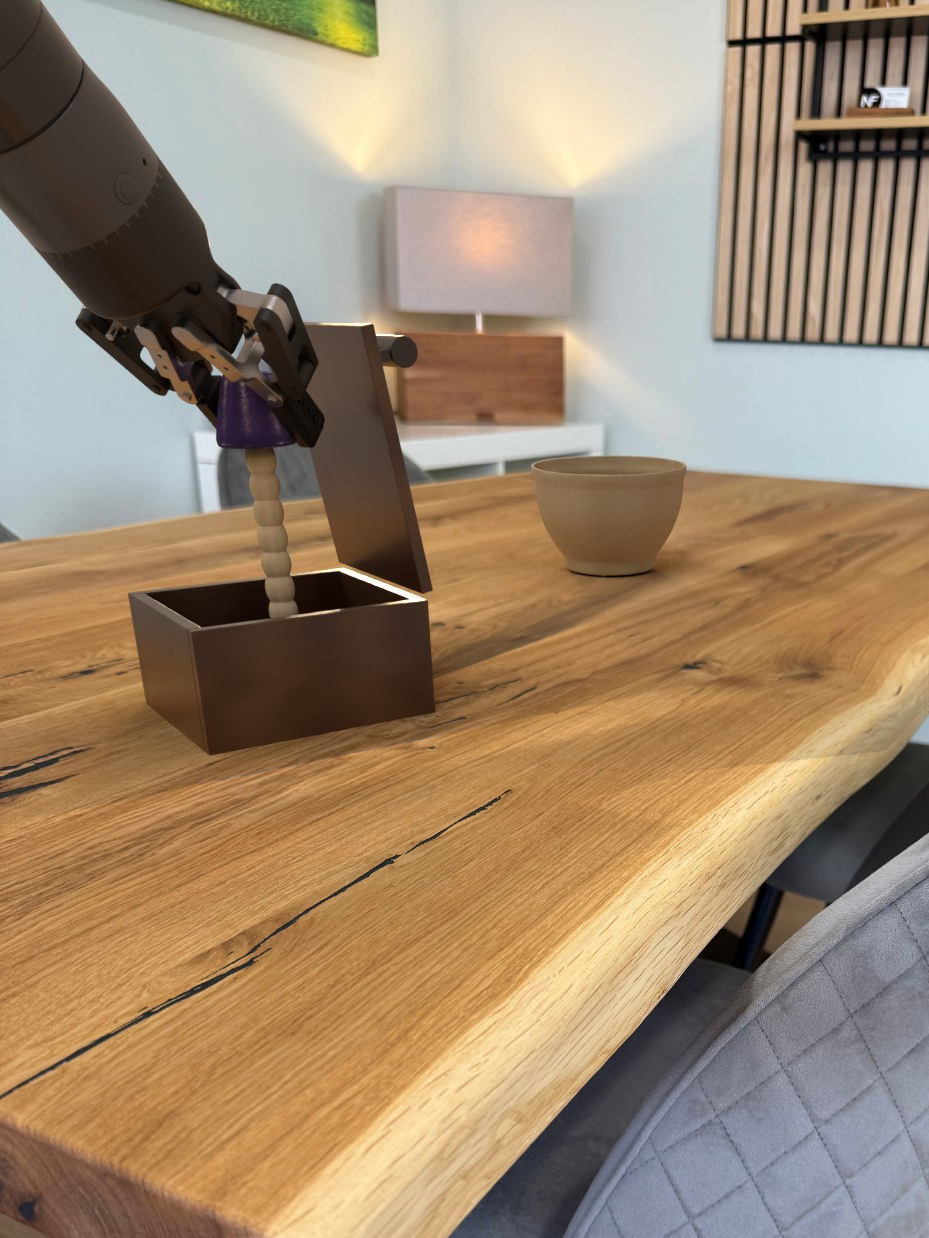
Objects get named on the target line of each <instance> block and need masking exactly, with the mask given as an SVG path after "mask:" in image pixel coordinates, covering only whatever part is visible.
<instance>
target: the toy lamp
mask: <svg viewBox="0 0 929 1238" xmlns="http://www.w3.org/2000/svg"><path fill="white" fill-rule="evenodd" d="M260 372H261V373H262V374H263V375H265V376H266V377H267V378H268V379H270V377H271V375H272V373H273V372H271V371H269V370H260ZM221 376H222V377H221V383H220V392H219V403H218V415H217V427H216V429H215V441H216V444H217V446H218V447H219V448H221V449H229V450H245V451H244V459H245V464H246V467H247V470H248V471H249V473H250V475H249V479H248V486H249V492H250V494H251V496H252V497H253V499H254V502H253V505H252V510H253V517H254V519H255V521H256V523H257V525H258V527H257V530H256V538H257V544H258V545H259V548H260V549H261V551H262V552H261V556H260V564H261V565H260V566H261V569H262V571H263V573H264V574H265V577H266V581H265V589H266V593H267V596H268V598H269V599H270V601H271V602H270V605H269V615H270V618H277V617H284V616H292V615H298V607H297V605H296V603H295V601H294V596H295V586H294V582H293V579H292V577H291V576H290V574H291V572H292V560H291V559H292V558H291V555H290V553H289V552H288V550H287V549H288V545H289V537H288V532H287V529H286V527H285V526H284V519H285V509H284V506H283V503H282V501H281V500H280V495H281V482H280V479H279V476H278V475H277V473H276V469H277V466H278V460H277V454H276V451H275V448H276V449H277V448H282V447H287V446H292V445H295V444H297V443H296V441H295V440H294V439H293V437H292V436H291V435H290V433H289V432H288V431H287V430H286V428H285V427H284V426H283V424H282V423H281V422H280V421H279V419H278V418H277V417H276V415H275V414H274V413H273V411H272V410H271V409H270V408H269V406H270V404H268V403H267V402H266V401H265V400H264V399H262V398H261V397H260V396H259V395H258V394H257V393H256V392H255V391H253V390H252V389H251V388H250V387H249V386H248V385H247V384H245V383H244V382H241V383H237V384H236V383H233V382H232V381H230V380H229V379H228V378H227V377H226V376H225V375H224V374H223V373H222V375H221Z"/></svg>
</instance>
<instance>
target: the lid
mask: <svg viewBox="0 0 929 1238" xmlns="http://www.w3.org/2000/svg"><path fill="white" fill-rule="evenodd" d="M303 323H304V325H305V328H306V330H307V333H308V336H309V338H310V341H311V343H312V346H313V348H314V351H315V354H316V356H317V359H318V361H319V363H318V366H317V368H316V370H315V372H314V374H313V376H312V379H311V381H310V383H309V385H308V387H307V389H306V391H307V392H308V394H309V395H310V397H311V398H312V399H313V401H314V403H316V405H317V406H318V408H319V409H320V410H321V412H322V413H323V415H324V418H325V422H324V427H323V430H322V432H321V434H320V436H319V438H318V441H317V443H316V445H315V446H314V447H313V448H308V449H309V452H310V457H311V460H312V464H313V468H314V472H315V476H316V479H317V483H318V487H319V491H320V494H321V495H320V496H321V499H322V503H323V506H324V510H325V514H326V518H327V522H328V525H329V529H330V533H331V537H332V541H333V545H334V548H335V553H336V556H337V560H338V563H339V564H342V565H345V566H347V567H350V568H352V569H355V570H358V571H361V572H363V573H366V574H367V575H368V574H369V575H372V576H374V577H376V578H379V579H381V580H384V581H387V582H390V583H392V584H395V585H398V586H400V587H403V588H405V589H408V590H411V591H413V592H416V593H419V594H421V595H424V594H428V593H430V592H433V591H434V587H433V585H432V580H431V576H430V575H431V574H430V571H429V566H428V561H427V558H426V552H425V549H424V544H423V538H422V534H421V530H420V525H419V521H418V517H417V512H416V508H415V507H416V506H415V503H414V499H413V494H412V490H411V485H410V482H409V477H408V473H407V467H406V463H405V459H404V455H403V450H402V445H401V440H400V437H399V432H398V428H397V427H398V426H397V423H396V419H395V418H396V417H395V414H394V410H393V405H392V401H391V396H390V392H389V386H388V383H387V379H386V374H385V370H384V369H385V368H386V367H387V368H400V369H409V368H411V367H412V366H414V364H415V363H416V362H417V360H418V356H419V350H418V347H417V344H416V342H415V341H414V339H412V338H411V337H410V336H407V335H395V334H377V333H376V329H375V325H374V323H364V322H363V323H362V322H361V323H360V322H326V321H325V322H321V321H320V322H318V321H303ZM384 367H385V368H384Z"/></svg>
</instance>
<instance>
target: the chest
mask: <svg viewBox="0 0 929 1238" xmlns="http://www.w3.org/2000/svg"><path fill="white" fill-rule="evenodd" d="M290 576H291V577H292V579H293V582H294V586H295V596H294V601H295V603H296V605H297V607H298V615H292V616H284V617H277V618H270V615H269V605H270V602H271V601H270V599H269V598H268V596H267V593H266V589H265V581H266V577H267V576H261V577H252V578H244V579H243V578H242V579H236V580H227V581H218V582H210V583H209V582H208V583H201V584H191V585H184V586H183V585H182V586H174V587H165V588H158V589H150V590H149V589H147V590H139V591H130V592H128V593H127V597H128V603H129V609H130V610H129V611H130V614H131V621H132V626H133V632H134V639H135V645H136V646H135V647H136V651H137V657H138V663H139V669H140V675H141V676H140V677H141V681H142V688H143V693H144V699H145V704H146V705H147V706H148V707H149V708H151V709H152V710H153V711H154V712H156V713H157V714H158V715H160V716H161V718H163V719H164V720H165V721H167V722H168V723H169V724H170V725H171V726H173V727H174V728H175V729H176V730H177V731H178V732H180V733H181V734H182V735H184V736H185V737H186V738H187V739H188V740H190V741H191V742H192V743H193V744H194V745H196V746H197V747H198V748H199V749H201V751H203V752H204V753H206V755H208V756H216V755H222V754H227V753H230V752H231V753H232V752H236V751H243V750H247V749H252V748H258V747H263V746H269V745H273V744H278V743H283V742H288V741H293V740H300V739H304V738H309V737H315V736H319V735H325V734H329V733H330V734H331V733H335V732H340V731H345V730H351V729H355V728H361V727H366V726H372V725H377V724H383V723H387V722H392V721H397V720H403V719H408V718H413V717H418V716H423V715H428V714H435V713H436V703H435V687H434V674H433V673H434V672H433V657H432V655H433V654H432V641H431V640H432V639H431V625H430V611H429V601H428V599H425V598H423V597H421V596H418V595H416V594H413V593H411V592H408V591H405V590H403V589H400V588H397V587H396V586H395V587H394V586H392V585H390V584H387V583H384V582H382V581H379V580H377V579H374V578H372V577H368V576H366V575H364V574H361V573H359V572H356V571H353V570H350V569H348V568H345V567H340V568H333V569H323V570H322V569H321V570H315V571H314V570H313V571H305V572H296V573H290Z"/></svg>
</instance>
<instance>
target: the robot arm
mask: <svg viewBox="0 0 929 1238" xmlns="http://www.w3.org/2000/svg"><path fill="white" fill-rule="evenodd" d="M61 28H62V27H60V26H59V24H58V22H57V21H56V20H55V18H54V17H53V16H52V14H51V13H50V11H49V10H48V9H47V7H46V5H45V4H44V2H42V0H0V210H1V211H2V213H3V214H4V215H5V216H6V217H7V219H9V220H8V221H10V222H11V223H12V225H13V226H14V227H15V228H16V229H17V230H18V231H19V232H20V234H21V235H22V236H23V237H24V238H25V239H26V240H27V241H28V243H29V244H30V245H31V246H32V247H33V249H34V250H35V251H36V252H37V253H38V255H40V257H41V258H42V259H43V260H44V261H45V263H46V264H47V265H48V266H49V267H50V268H51V269H52V271H53V272H54V273H55V274H56V275H57V276H58V277H59V278H60V280H61V281H62V282H63V284H64V285H66V286H67V288H69V290H70V291H71V293H72V294H74V296H75V297H76V298H77V299H78V301H80V303H81V304H82V307H81V309H80V312H79V314H78V316H77V317H76V319H75V325H76V327H77V328H78V329H79V330H80V331H81V332H82V333H83V334H84V335H86V336H87V337H88V338H89V339H90V340H91V341H93V342H94V343H95V344H96V345H97V346H99V347H100V348H101V349H102V350H103V351H104V352H106V353H107V354H108V355H109V356H110V357H111V358H112V359H114V360H115V361H116V362H117V363H118V364H119V365H120V366H122V367H123V368H124V369H125V370H126V371H128V372H129V373H130V374H131V375H132V376H133V377H134V378H135V379H137V380H138V381H139V382H140V383H141V384H143V386H145V387H146V388H147V389H148V390H150V391H151V392H152V393H154V394H155V395H157V396H161V397H166V396H167V395H168V393H169V391H171V392H175V393H176V395H177V396H178V398H179V399H180V400H182V401H183V402H185V403H187V404H190V405H194V406H196V407H197V408H198V410H199V411H200V412H201V413H202V415H203V416H204V417H205V418H206V419H207V421H208V422H210V423H211V425H212V426H213V428H214V429H215V430H216V427H217V415H218V403H219V392H220V383H221V377H222V375H223V374H224V375H225V376H226V377H227V378H228V379H229V380H230V381H232V382H233V383H236V384H237V383H241V382H244V383H245V384H247V385H248V386H249V387H250V388H251V389H252V390H253V391H255V392H256V393H257V394H258V395H259V396H260V397H261V398H262V399H264V400H265V401H266V402H267V403H268V404H270V406H269V408H270V409H271V410H272V411H273V413H274V414H275V415H276V417H277V418H278V419H279V421H280V422H281V423H282V424H283V426H284V427H285V428H286V430H287V431H288V432H289V433H290V435H291V436H292V437H293V439H294V440H295V441H296V443H295V444H296V445H298V446H299V448H303V449H304V448H305V449H309V448H313V447H314V446H315V445H316V443H317V441H318V438H319V436H320V434H321V432H322V430H323V427H324V422H325V418H324V415H323V413H322V412H321V410H320V409H319V408H318V406H317V405H316V403H314V401H313V399H312V398H311V397H310V395H309V394H308V392H307V391H306V389H307V387H308V385H309V383H310V381H311V379H312V376H313V374H314V372H315V370H316V368H317V366H318V363H319V361H318V359H317V356H316V354H315V351H314V348H313V346H312V343H311V341H310V338H309V336H308V333H307V330H306V328H305V325H304V323H303V322H304V321H303V318H302V316H301V313H300V310H299V308H298V305H297V302H296V300H295V298H294V295H293V293H292V292H291V290H290V289H289V288H288V287H287V286H285V285H283V284H281V283H278V282H277V283H276V282H274V283H272V284H270V287H269V289H268V291H267V293H266V294H262V293H259V292H254V291H250V290H244V289H243V288H242V286H241V284H240V283H239V282H238V281H237V279H235V278H234V277H233V276H232V275H231V274H230V273H228V272H227V271H225V270H224V269H223V267H221V266H220V265H219V264H218V263H217V261H216V260H215V259H214V256H213V253H212V250H211V245H210V240H209V235H208V230H207V226H206V224H205V221H204V220H203V218H202V216H201V215H200V214H199V212H198V211H197V209H196V208H195V207H194V205H193V203H192V202H191V201H190V200H189V198H188V196H187V195H186V193H185V192H184V191H183V189H182V187H180V185H179V183H178V182H177V181H176V180H175V178H174V176H173V175H172V174H171V172H170V171H169V170H168V168H167V167H166V165H165V164H164V162H163V160H161V158H160V157H159V155H158V153H156V151H155V149H154V148H153V147H152V146H151V144H150V143H149V141H148V140H147V138H146V137H145V136H144V134H143V133H142V131H141V130H140V128H139V127H138V126H137V124H136V122H135V121H134V120H133V118H132V117H131V116H130V114H129V113H128V112H127V110H126V109H125V107H124V106H123V105H122V104H121V102H120V101H119V100H118V98H117V97H116V95H114V93H113V92H112V91H111V90H110V88H109V87H108V86H107V85H106V84H105V82H103V81H102V80H101V79H100V78H99V77H98V76H97V74H96V73H95V72H94V71H93V70H92V69H91V67H90V66H89V65H88V64H87V62H86V61H85V60H84V58H83V57H82V56H81V55H80V54H79V52H78V51H77V49H76V48H75V46H74V45H73V44H72V42H71V41H70V40H69V38H68V37H67V35H66V34H65V33H64V31H63V30H62V29H61ZM243 337H244V342H243V345H242V347H241V349H240V351H239V352H238V355H237V356H236V358H235V357H234V356H233V354H234V353H235V352H236V350H237V347H238V346H239V344H240V342H241V340H242V338H243ZM144 348H145V349H146V350H147V351H148V353H149V356H150V358H151V359H152V361H153V363H154V365H155V366H154V367H153V368H152V367H151V366H149V365H148V364H147V363H146V362H145V361H144V360H143V359H142V357H141V353H142V351H143V349H144ZM261 361H264V362H265V363H266V365H268V366H269V367H270V368H271V369H272V370H273V371H272V372H271V373H272V375H271V377H270V379H268V378H267V377H266V376H265V375H263V374H262V373H261V372H260V371H261V370H260V367H259V365H260V362H261ZM214 368H216V370H218V371H219V372H220V373H221V374H222V375H220V374H213V371H214Z"/></svg>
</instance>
